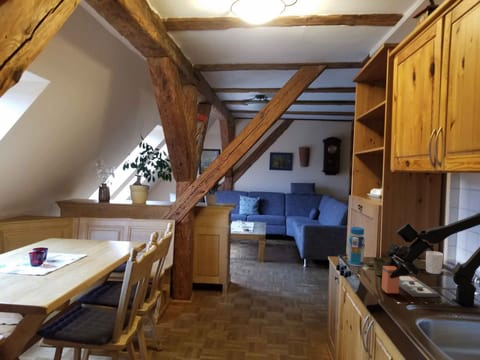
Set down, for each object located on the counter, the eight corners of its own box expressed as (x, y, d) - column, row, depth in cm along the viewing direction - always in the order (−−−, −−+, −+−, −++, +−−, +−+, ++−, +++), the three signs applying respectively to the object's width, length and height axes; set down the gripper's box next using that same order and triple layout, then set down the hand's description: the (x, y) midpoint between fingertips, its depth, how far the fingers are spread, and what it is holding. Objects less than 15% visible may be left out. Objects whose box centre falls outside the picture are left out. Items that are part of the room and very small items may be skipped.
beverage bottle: (344, 262, 185) (346, 226, 184) (357, 261, 188) (359, 226, 186) (353, 267, 177) (355, 230, 176) (367, 266, 180) (369, 229, 178)
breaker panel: (438, 297, 141) (438, 291, 141) (412, 296, 141) (413, 290, 141) (413, 279, 161) (413, 274, 161) (390, 279, 161) (391, 274, 161)
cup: (385, 273, 169) (386, 257, 169) (390, 278, 162) (391, 262, 162) (370, 272, 170) (371, 256, 170) (374, 277, 163) (375, 261, 162)
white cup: (426, 268, 179) (427, 250, 178) (443, 271, 174) (444, 253, 174) (423, 271, 173) (424, 253, 172) (440, 275, 168) (442, 256, 167)
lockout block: (398, 293, 140) (400, 270, 140) (386, 293, 140) (388, 269, 140) (392, 288, 146) (394, 266, 145) (381, 288, 145) (382, 265, 145)
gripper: (391, 232, 151) (366, 255, 151) (414, 243, 132) (384, 269, 133) (408, 249, 151) (382, 272, 152) (432, 262, 133) (403, 289, 133)
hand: (387, 275), depth 142 cm, fingers closed on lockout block, 5 cm apart
